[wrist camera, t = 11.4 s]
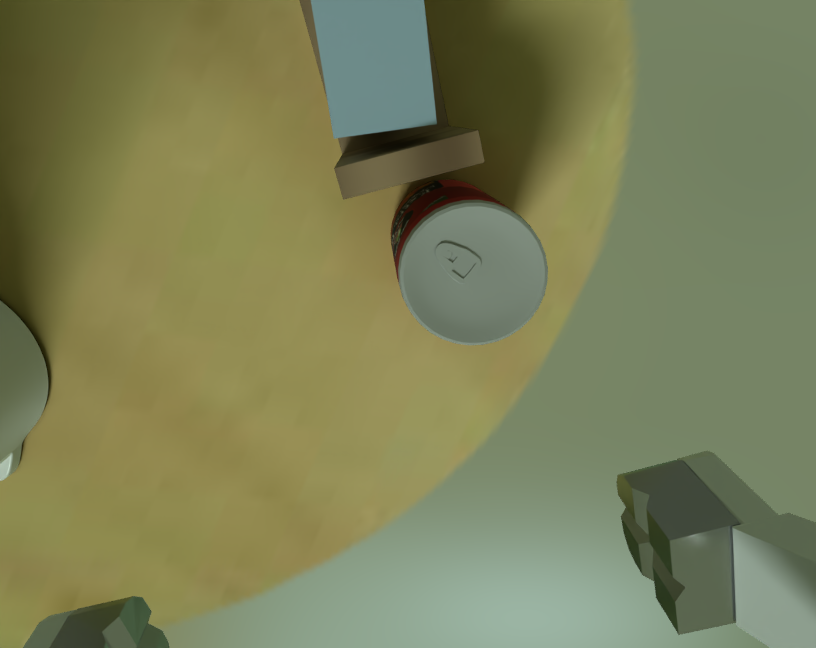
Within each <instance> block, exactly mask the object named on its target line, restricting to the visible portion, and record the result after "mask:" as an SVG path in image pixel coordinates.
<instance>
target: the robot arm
mask: <svg viewBox="0 0 816 648" xmlns="http://www.w3.org/2000/svg"><path fill="white" fill-rule="evenodd" d="M47 396H48V374H47V368H46V364H45V360H44V357H43V355H42V352H41V350H40V348H39V346H38V344H37V342H36V340H35V338H34V337H33V335H32V334H31V332H30V331H29V329H28V328H27V327H26V325H25V324H24V323H23V322H22V320H21V319H20V318H19V317H18V316H17V315H16V314H15V313H14V312H13V311H12V310H11V309H10V308H9V307H8V306H6V305H5V304H4V303H3V302H1V301H0V481H1V480H4V479H6V478H7V477H8V476H9V475H11V474H12V473H13V472H14V471H15V470H16V469H17V467H18V465H19V461H20V456H21V448H22V442H23V440H24V439H25V437H26V436H27V434H28V433H29V432H30V431H31V429H32V428H33V427H34V426H35V424H36V423H37V421H38V420H39V418H40V416H41V415H42V412H43V410H44V407H45V404H46V401H47ZM617 490H618V495H619V497H620V499H621V500H622V502H623V503H624V505H625V506H626V509H625V510H624V512H623V514H622V516H621V520H622V526H623V531H624V535H625V539H626V542H627V545H628V548H629V551H630V553H631V555H632V557H633V559H634V561H635V563H636V565H637V567H638V568H639V570H640V572H641V573H642V575H643V576H645V577H647V578H649V579H651V580H653V581H654V584H655V592H656V598H657V600H658V602H659V603H660V605H661V607H662V608H663V610H664V612H665V613H666V615H667V616H668V618H669V620H670V621H671V623H672V625H673V626H674V628H675V629H676V631H677V633H678V634H679V635H680V634H685V633H689V632H694V631H699V630H703V629H708V628H712V627H718V626H722V625H727V624H731V623H736V626H738V627H739V628H741V629H742V630H744V631H745V632H747V633H748V634H750V635H752V636H753V637H755V638H756V639H758V640H759V641H761V642H762V643H764V644H765V645H767V646H768V647H770V648H816V523H815V522H813V521H810V520H807V519H804V518H801V517H799V516H796V515H793V514H790V513H787V514H782V515H778V514H777V513H776V512H775V511H774V510H773V509H772V508H771V507H770V506H769V505H768V504H767V503H765V501H763V499H761V498H760V497H759V496H758V495H757V494H756V493H755V492H754V491H753V490H752V489H751V488H750V487H749V486H748V485H747V484H746V483H745V482H744V481H743V480H742V479H740V478H739V477H738V476H737V475H736V474H735V473H734V472H733V471H732V470H731V469H730V468H729V467H728V466H727V465H726V464H725V463H724V462H723V461H722V460H721V459H720V458H718V457H717V456H716V455H715V454H714V453H712V452H710V451H704V452H700V453H697V454H693V455H689V456H686V457H682V458H679V459H677V460H674V461H670V462H666V463H662V464H658V465H654V466H650V467H647V468H642V469H638V470H635V471H631V472H627V473H623V474H619V475H618V476H617ZM150 615H151V610H150V609H149V607H148V605H147V604H146V602H145V601H144V599H143V598H142V597H135V596H132V597H128V598H124V599H119V600H115V601H110V602H106V603H101V604H97V605H92V606H88V607H84V608H79V609H77V610H73V611H68V612H64V613H60V614H55V615H51V616H49V617H47V618H46V619H44V620H43V621H41V622H40V623H39V624H38V625H37V627H36V628H35V630H34V632H33V633H32V635H31V636H30V638H29V639H28V641H27V642H26V644H25V645H24V647H23V648H169V643H168V641H167V639H166V637H165V635H164V633H163V631H162V630H160V629H158V628H156V627H154V626H152V625H150V624H148V621H149V618H150Z"/></svg>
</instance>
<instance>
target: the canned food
mask: <svg viewBox="0 0 816 648" xmlns="http://www.w3.org/2000/svg"><path fill="white" fill-rule="evenodd" d="M391 245H392V250H393V256H394V262H395V267H396V273H397V278H398V282H399V286H400V289H401V293H402V297H403V299H404V301H405V303H406V305H407V307H408V309H409V310H410V312H411V313H412V314H413V316H414V317H415V318H416V320H417V321H418V322H419V323H420V324H421V325H422V326H423V327H425V328H426V329H427V330H428V331H429V332H431V333H432V334H434V335H436V336H438V337H440V338H441V339H444V340H447V341H450V342H453V343H457V344H464V345H483V344H488V343H492V342H496V341H499V340H501V339H504V338H506V337H508V336H510V335H512V334H513V333H515V332H516V331H518V330H519V329H521V328H522V327H523V326H524V325H525V324H526V323H527V322H528V321H529V320H530V319H531V318H532V316H533V315H534V313H535V312H536V310H537V309H538V308H539V305H540V303H541V301H542V299H543V297H544V294H545V289H546V285H547V275H548V267H547V261H546V255H545V252H544V250H543V247H542V244H541V242H540V240H539V238H538V237H537V235H536V234H535V232H534V231H533V229H532V228H531V227H530V225H529V224H528V223H527V222H526V221H525V220H524V219H523V218H522V217H521V216H519V215H518V214H516V213H515V212H514V211H512V210H511V209H509V208H508V207H506V206H505V205H503V204H502V203H500V202H499V201H497V200H495V199H494V198H492V197H491V196H489V195H487V194H486V193H484V192H483V191H481V190H479V189H478V188H476V187H475V186H473V185H470V184H468V183H465V182H462V181H457V180H437V181H433V182H429V183H426V184H424V185H422V186H420V187H418V188H416V189H415V190H414V191H412V192H411V193H410V194H409V195H408V196H407V197H406V198H405V199H404V200H403V201H402V202H401V204H400V206H399V207H398V209H397V211H396V213H395V216H394V218H393V221H392V227H391Z"/></svg>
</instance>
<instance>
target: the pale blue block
mask: <svg viewBox="0 0 816 648" xmlns="http://www.w3.org/2000/svg"><path fill="white" fill-rule="evenodd" d="M311 5H312V11H313V17H314V23H315V29H316V35H317V41H318V47H319V52H320V58H321V64H322V70H323V76H324V82H325V88H326V94H327V100H328V106H329V112H330V118H331V124H332V130H333V136H334V138H341V137H348V136H356V135H363V134H370V133H377V132H384V131H391V130H399V129H406V128H413V127H420V126H427V125H435V124H437V121H436V111H435V101H434V92H433V82H432V73H431V63H430V53H429V44H428V34H427V25H426V15H425V5H424V0H311Z"/></svg>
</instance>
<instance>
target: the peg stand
mask: <svg viewBox="0 0 816 648" xmlns="http://www.w3.org/2000/svg"><path fill="white" fill-rule="evenodd" d="M300 4H301V7H302V11H303V14H304V18H305V22H306V25H307V29H308V32H309V36H310V40H311V43H312V47H313V50H314V54H315V57H316V61H317V65H318V68H319V72H320V75H321V79H322V82H323V86H324V90H325V93H326V88H325V82H324V76H323V70H322V64H321V58H320V52H319V47H318V41H317V35H316V29H315V23H314V17H313V11H312V5H311V0H300ZM425 15H426V14H425ZM426 25H427V34H428V44H429V53H430V63H431V73H432V82H433V92H434V101H435V111H436V121H437V124H435V125H427V126H420V127H413V128H406V129H399V130H391V131H384V132H377V133H370V134H363V135H356V136H348V137H341V138H338V140H339V143H340V147H341V150H342V156H341V158H340V160H339V161H338V163H337V165H336V166H335V168H334V169H335V173H336V176H337V179H338V183H339V186H340V190H341V193H342V197H343V200H344V199H347V198H351V197H355V196H359V195H363V194H366V193H370V192H374V191H378V190H382V189H385V188H389V187H393V186H397V185H401V184H404V183H408V182H412V181H416V180H420V179H423V178H427V177H431V176H435V175H439V174H442V173H446V172H450V171H454V170H457V169H461V168H465V167H469V166H473V165H476V164H480V163H484V157H483V152H482V146H481V141H480V136H479V131H478V130H473V129H466V128H459V127H452V126H449V125H448V120H447V115H446V110H445V106H444V101H443V96H442V91H441V86H440V82H439V77H438V72H437V67H436V62H435V58H434V53H433V48H432V43H431V38H430V34H429V29H428V24H427V19H426ZM326 97H327V94H326Z"/></svg>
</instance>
